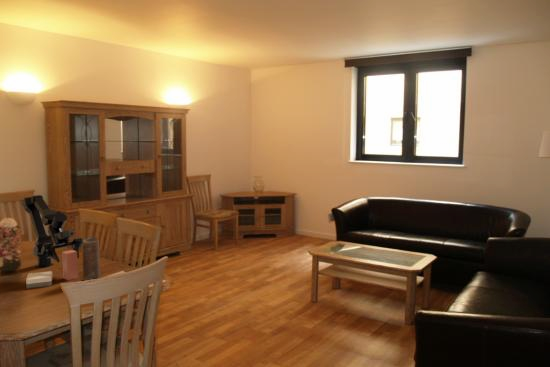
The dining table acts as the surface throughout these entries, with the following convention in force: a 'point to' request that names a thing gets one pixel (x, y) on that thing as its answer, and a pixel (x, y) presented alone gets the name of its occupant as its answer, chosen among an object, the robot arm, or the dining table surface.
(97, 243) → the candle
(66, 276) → the top brick
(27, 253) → the dining table surface
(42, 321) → the dining table surface
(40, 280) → the base block
